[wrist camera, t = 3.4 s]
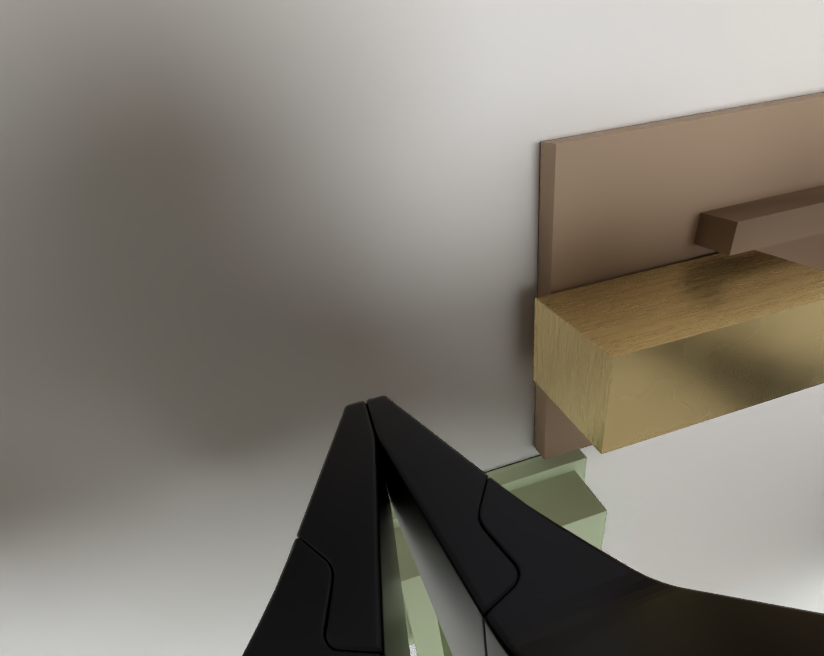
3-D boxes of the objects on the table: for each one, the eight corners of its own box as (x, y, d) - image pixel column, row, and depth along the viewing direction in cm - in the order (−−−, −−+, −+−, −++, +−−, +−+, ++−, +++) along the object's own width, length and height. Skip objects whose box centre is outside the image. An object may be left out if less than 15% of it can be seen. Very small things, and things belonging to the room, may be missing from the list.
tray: (564, 569, 18) (599, 625, 16) (400, 629, 16) (415, 698, 14) (575, 444, 14) (620, 497, 12) (368, 509, 13) (383, 578, 11)
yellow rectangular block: (723, 326, 12) (830, 380, 10) (533, 379, 11) (601, 454, 9) (745, 246, 11) (871, 286, 9) (534, 297, 10) (613, 358, 8)
